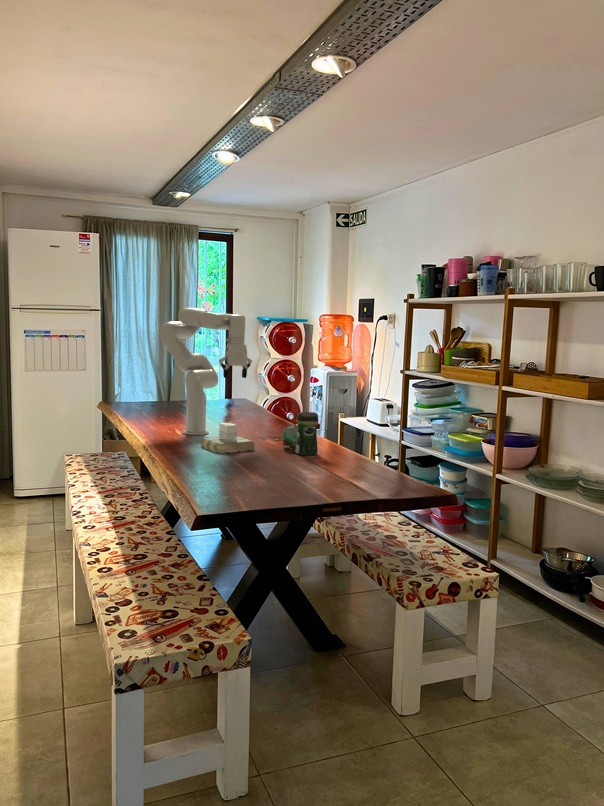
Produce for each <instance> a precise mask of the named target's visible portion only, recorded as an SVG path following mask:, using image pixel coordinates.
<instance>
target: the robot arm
mask: <svg viewBox="0 0 604 806" xmlns="http://www.w3.org/2000/svg"><path fill="white" fill-rule="evenodd" d="M177 317H178V320H179V321H168V322H165V323H164V324H162V325H161V327H160V330H159V331H160V332H159V333H160V340H161V342H162V344H163V346H164V347H165V349H167V350H166V351H168V352H169V354H170V355H171V357H172V359H173V360H174V362H175V364H176V365H177V366H178V368H179V370H180V371H182V372H183V373H186V375H185V377H184V379H185V380H184V383H185V387H186V422H185V423H186V424H185V427H186V428H185V429H183V430H182V433H183V434H185V435H188V434H189V436H201V435H202V436H204V435H208V434H209V430H208V429H207V426H206V424H207V421H206V420H207V396H206V393H205V391H204V389H205V390H206V389H213V388H215V387H217V385H218V382H219V375H218V373H217V370H215V369H214V366H213V365H212V364H211V363H210V360H209V359H208V358H207V357H206V356H205V355H204V354H202V353H199V352H198V353H195V352H194V353H192V352H191V351H190V350H189V349H188V347H187V346H186V345H185V343H183V342H182V341H181V340H179V339H190V338H192V337H194V335H195V334H196V333H197V332H199V330H200V329H201V328H202V329H209V330H222V331H223V330H225V331H226V330H227V331H228V337H227V338H226V339H225V341H226V342H227V344H226V346H225V352H224V353H225V354H224V356H223V357H222V358H220V359H218V363H219V364H220V365H219V366H220V367H221V368H222V369H223V375H222V376H223V378H225V379H228V378H229V368H230V366H232V367H238V366H239V367H242V369H241V378H243V379H247V376H248V370H249V368H250V367H251V364H252V362H253V360H252V359H251V358H249V357H248V350H247V345H246V344H245V336H246V335H245V334H246V317H245V315H243V314H232V313H220V312H219V313H217V312H209V311H208V310H207V309H202V308H200V307H199V308H198V307H197V308H196V307H184V308H181V309H180V310H179V312H178V315H177Z"/></svg>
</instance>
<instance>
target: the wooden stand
mask: <svg viewBox="0 0 604 806" xmlns="http://www.w3.org/2000/svg"><path fill="white" fill-rule="evenodd" d="M203 447H204V449H206V450H208V449H209V451H211V452H213V451H214V452H213V453H216V452H217V453H216V454H226V453H225V452H229V453H237V451H240V452H248V451H247V450H251V451H254V450H255V441H253V440H250V439H247V438H245V437H241V436H238V435H237V441H224V440H221V439H219V436H214V437H211V436H210V437H203V438H201V448H203Z"/></svg>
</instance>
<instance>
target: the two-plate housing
mask: <svg viewBox="0 0 604 806" xmlns="http://www.w3.org/2000/svg"><path fill="white" fill-rule="evenodd" d="M218 426H219V431H218V433H219V435H218V437H219V439H221V440H224V441H237V436H238V425H237V424H236V423H232V422H220V423H219V425H218Z"/></svg>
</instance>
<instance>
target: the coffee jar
mask: <svg viewBox="0 0 604 806" xmlns="http://www.w3.org/2000/svg"><path fill="white" fill-rule="evenodd" d="M296 425H297V426H298V433H297V441H296V448H295V449H294V451H295V454H297V455H301V456H315V455H317V454H318V437H317V436H318V435H317V428H318V425H319V414H318V413H317V412H313V411H305V412H304V411H301V412H298V413H297V414H296Z"/></svg>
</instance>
